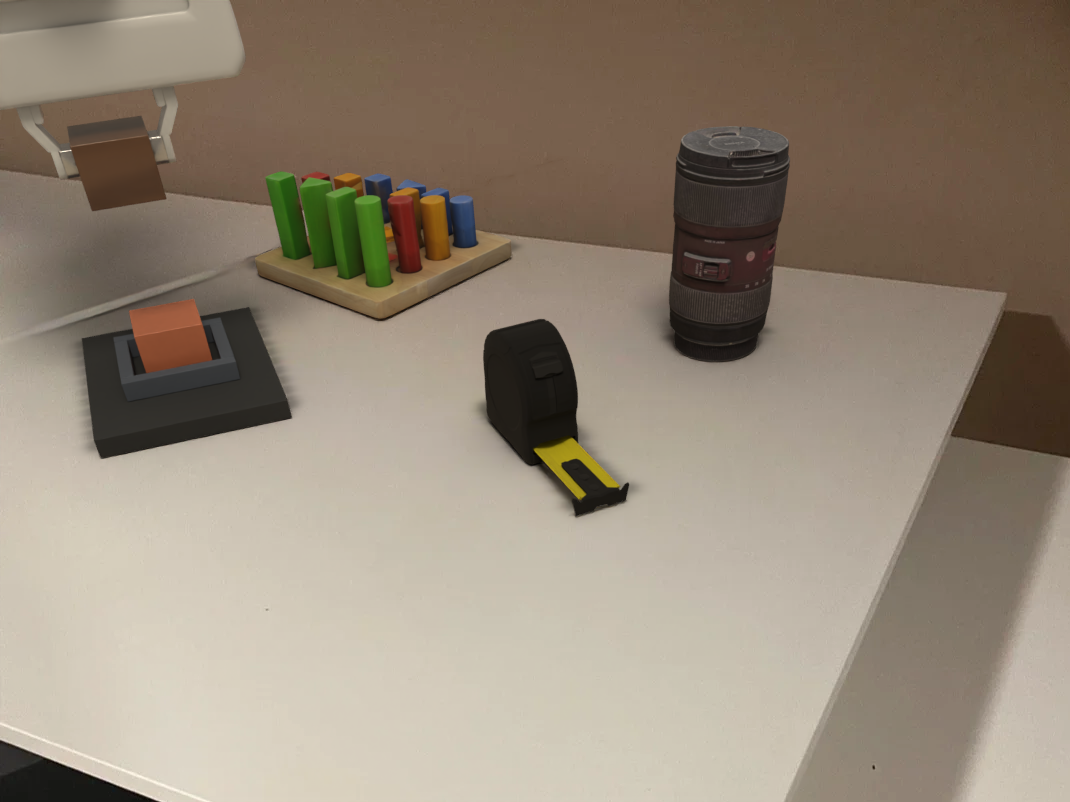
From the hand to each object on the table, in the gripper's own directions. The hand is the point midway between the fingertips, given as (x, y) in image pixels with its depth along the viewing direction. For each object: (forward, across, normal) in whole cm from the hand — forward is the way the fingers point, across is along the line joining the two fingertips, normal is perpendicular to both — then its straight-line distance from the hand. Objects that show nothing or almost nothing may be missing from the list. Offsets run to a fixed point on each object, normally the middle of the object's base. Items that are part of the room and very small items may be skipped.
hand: (118, 169), depth 69 cm
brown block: (+2, 0, 0) cm, 2 cm away
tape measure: (+16, -23, +23) cm, 36 cm away
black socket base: (+16, 0, 0) cm, 16 cm away
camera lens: (+16, -41, +12) cm, 46 cm away
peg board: (+16, -21, -16) cm, 31 cm away
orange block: (+14, 0, 0) cm, 14 cm away
